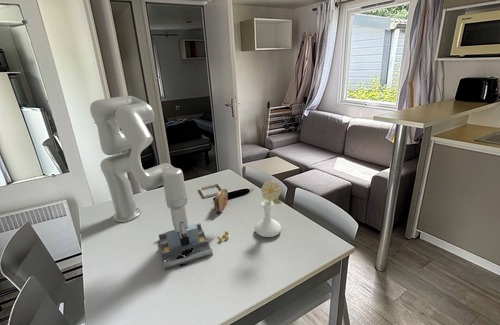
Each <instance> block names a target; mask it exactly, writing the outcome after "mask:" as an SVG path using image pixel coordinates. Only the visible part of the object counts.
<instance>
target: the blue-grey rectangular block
mask: <svg viewBox="0 0 500 325" xmlns="http://www.w3.org/2000/svg"><path fill="white" fill-rule="evenodd" d="M196 224H197V223H194V224H191V225H188V229H187V234H188V236H189V242H190V244H193V243H197V242H200V241H199V234H198V228H197V225H196ZM180 230H181V228H180ZM165 233H166V236H167V241H168V246H169V250H173V249H176V248H180V247H183V246H181V242H180V233H179V232H177V233H176V232H175V229H173V230H169V231H166V232H165ZM181 235H182V231H181ZM190 244H189V245H190Z"/></svg>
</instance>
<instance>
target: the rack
mask: <svg viewBox="0 0 500 325" xmlns="http://www.w3.org/2000/svg"><path fill="white" fill-rule="evenodd" d="M195 224H196V225H197V228H198V234H199V241H200V242H197V243H193V244H190V245H186V246H183V247H180V248H176V249H173V250H169V246H168V241H167V236H166V232H163V233H159V234H158V239H159V244H160V251H161V256H162V257H161V258H162V263H163V268H164V271H167V270H170V269H173V268H177V267H180V266H181V265H180V264H183V265H186V264H190V263H193V262H196V261H199V260H202V259H205V258H208V257H211V256H213V255H214V254H213V248H211V246H210V244H209V239H207V237H206V235H205V230H203V228H202V224H201V223H199V222H198V223H195ZM191 248H193V250H192V252H191V253H190V254H189V255H188V256H186V257H183V258H180V259H176V258H177V257H178V256H179V255H180V254H181V253H182V252H183V251H185V250H188V249H191Z"/></svg>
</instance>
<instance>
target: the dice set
mask: <svg viewBox="0 0 500 325" xmlns="http://www.w3.org/2000/svg"><path fill="white" fill-rule="evenodd" d="M229 237H230V236H229V231H228V230H225V231H224V233H222V237H221V235H217V237H216V238H218V242H219V243H223V242H224V239H225V241H229ZM223 238H224V239H223Z"/></svg>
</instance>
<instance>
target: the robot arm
mask: <svg viewBox="0 0 500 325" xmlns="http://www.w3.org/2000/svg"><path fill="white" fill-rule="evenodd" d="M89 110H90V115H91V117H92V118H93V121H94V122H95V124H96V128H97V133H98V134H97V135H98V138H99V143H100V144H99V145H100V148H101V151H102V153H103V154H104V155H106V156H108V157H106V158H104V159H103V160H101V162H100V170H101V171H102V174H103V176H104V178H105V181H106V183H107V186H108V187H107V188H108V189H109V190H108V191H109V193H110V197H111V200H112V205H113V208H114V215H113V216H112V217H113V221H114V222H115V223H126V222H131V221H133V220H135V219H136V218H138V217H139V216H140V215H141V212H142V211H141V209H140V208H138V207H137V205H136V201H135V197H134V193H133V188H132V184H131V180H129V179H128V178H127V177H126V176H124V174H127V173H130V172H131V173H132V176H133V177H134V179H135V181H136V182H137V184H138V186H139V187H140V189H141V190H143V191H152V190H154V189H156V188H158V187H161V186H163V191H164V196H165V201H166V206H167V208H168V209H170V214H171V221H172V226H173V230H175V232H176V233H177V232H179V233H180V242H181V246H186V245H189V244H190V242H189V236H188V234H187V229H188V226H189V223H188V217H187V210H186V205H187V204H188V197H187V196H188V195H187V192H186V191H187V190H186V185H185V184H186V183H185V180H184V179H185V177H184V173H183V170H182V169H181V168H179V167H178V168H177V167H174V166H173V165H172V164H170V163H167V162H164V163H160V164H158V165H155V166H153V167H150V168H147V169H144V167H143V166H142V161H141V159H142V158H141V154H142V152H143V151H144V150H145V149H147V148H148V147H149V146H150V145H151V144H152V143H153V140H154V136H153V135H152V133H151V132H150V130H149V129H148V127H147V124H150V123H152V122H154V121H155V111H154V109H153V108H152V106H151V105H150V104H149V103H148V102H146V101H145V100H142V99H140V98H138V97H135V96H132V95H125V96H124V95H122V96H115V97H108V98H102V99H97V100H94V101H93V102H91V103H90V106H89ZM180 228H181V230H180ZM181 231H182V235H181Z"/></svg>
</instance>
